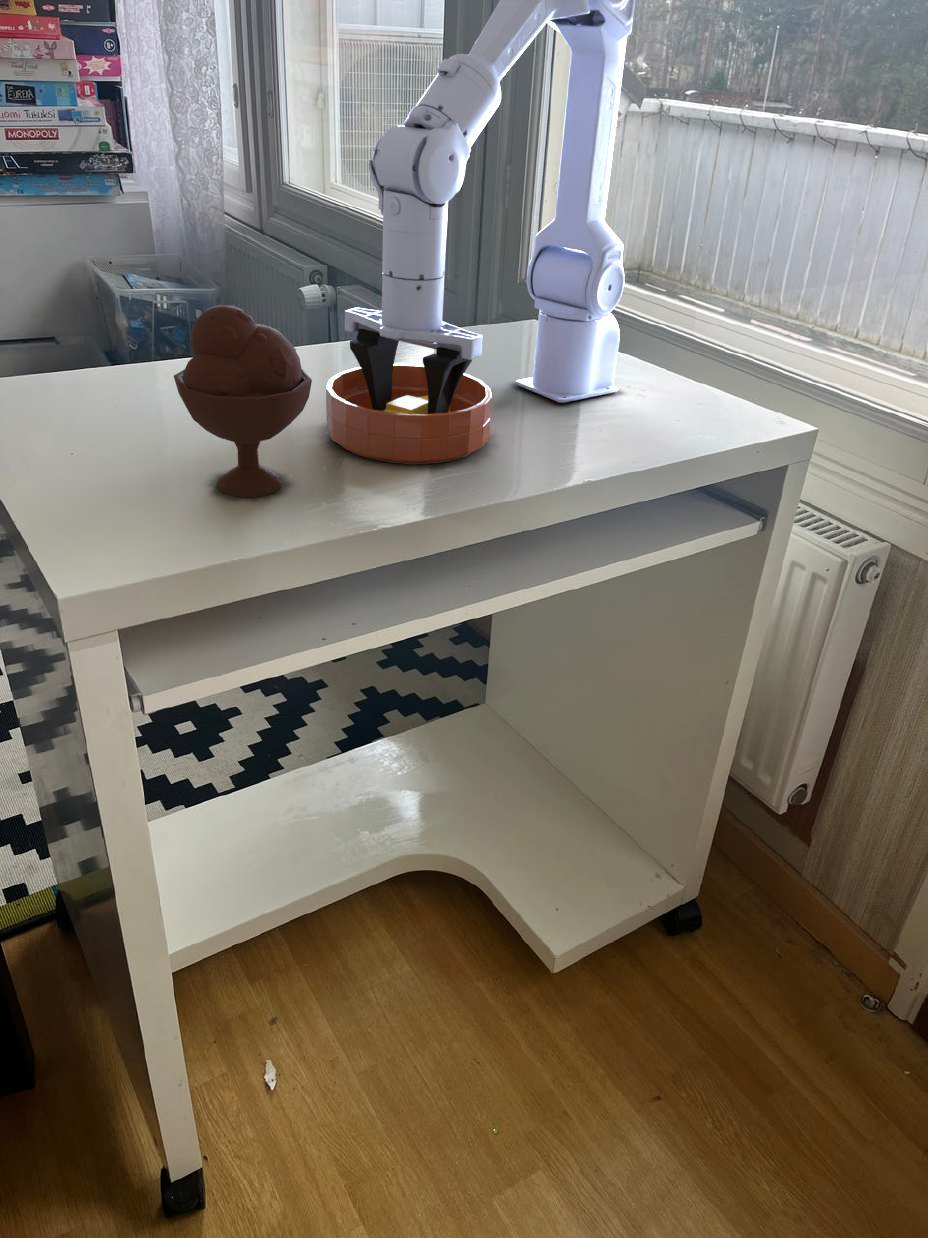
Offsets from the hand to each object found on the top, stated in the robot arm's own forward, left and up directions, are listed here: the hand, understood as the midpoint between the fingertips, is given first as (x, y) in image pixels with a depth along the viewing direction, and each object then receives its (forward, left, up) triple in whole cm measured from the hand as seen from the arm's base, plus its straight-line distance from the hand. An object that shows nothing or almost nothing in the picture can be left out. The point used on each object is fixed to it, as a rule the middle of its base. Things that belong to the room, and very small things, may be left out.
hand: (408, 416), depth 94 cm
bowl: (0, 0, -2) cm, 2 cm away
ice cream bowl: (+19, +3, -2) cm, 19 cm away
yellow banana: (0, 0, -2) cm, 2 cm away
